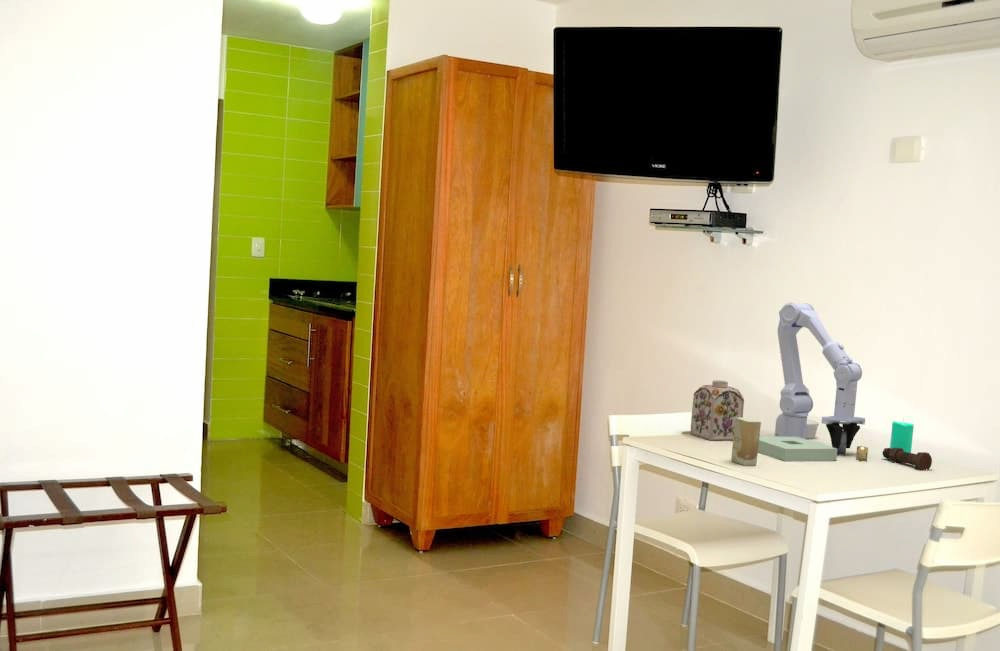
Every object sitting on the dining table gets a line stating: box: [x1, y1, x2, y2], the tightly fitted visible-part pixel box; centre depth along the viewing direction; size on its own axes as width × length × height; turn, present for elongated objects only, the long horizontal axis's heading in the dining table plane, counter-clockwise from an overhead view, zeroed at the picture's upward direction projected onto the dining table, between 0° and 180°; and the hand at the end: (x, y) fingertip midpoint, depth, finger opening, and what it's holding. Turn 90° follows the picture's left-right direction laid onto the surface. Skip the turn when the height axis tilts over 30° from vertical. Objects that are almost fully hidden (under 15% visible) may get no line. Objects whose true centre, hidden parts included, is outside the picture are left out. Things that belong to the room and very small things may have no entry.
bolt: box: [882, 447, 933, 471], centre depth 278 cm, size 6×5×15 cm
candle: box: [889, 418, 915, 453], centre depth 289 cm, size 6×6×12 cm
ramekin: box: [805, 419, 820, 440], centre depth 316 cm, size 11×11×5 cm
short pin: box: [855, 445, 869, 462], centre depth 279 cm, size 3×3×4 cm
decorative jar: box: [690, 379, 745, 441], centre depth 302 cm, size 12×12×18 cm
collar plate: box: [758, 436, 838, 462], centre depth 281 cm, size 18×18×4 cm
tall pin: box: [836, 431, 848, 456], centre depth 287 cm, size 3×3×7 cm
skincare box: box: [730, 417, 762, 466], centre depth 262 cm, size 6×4×12 cm
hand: (840, 447), depth 287 cm, fingers open, 4 cm apart
